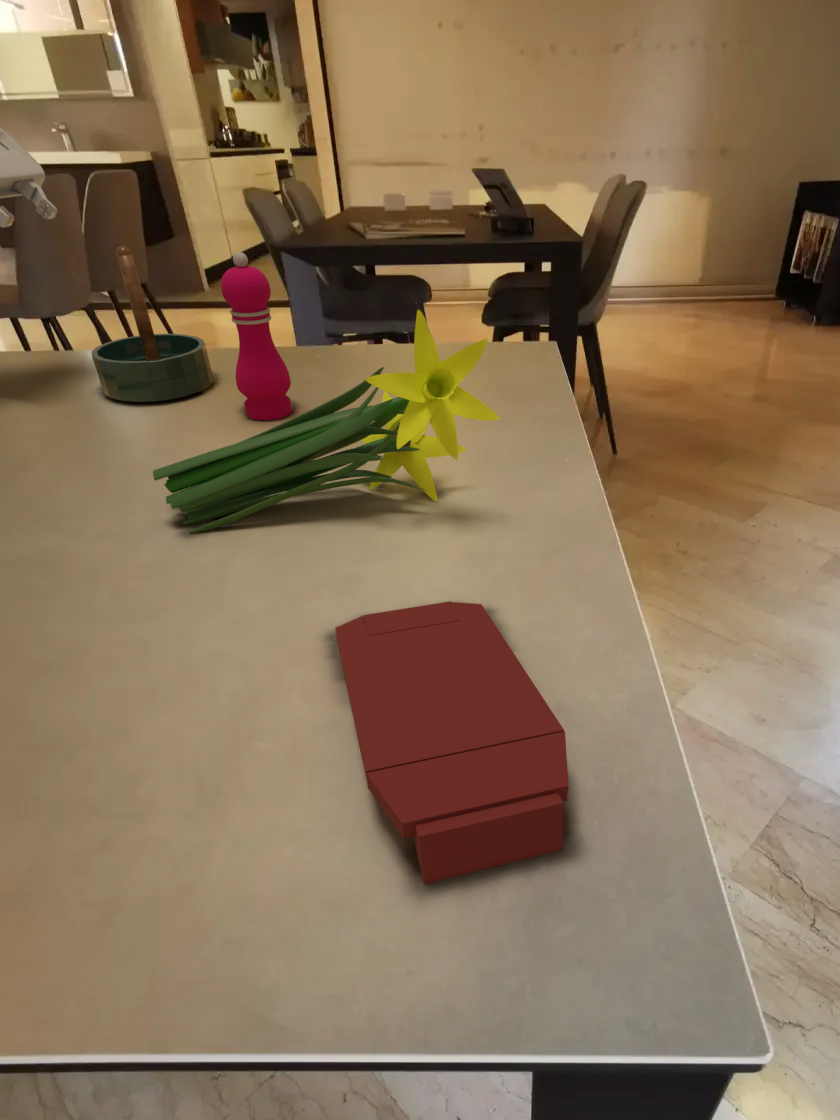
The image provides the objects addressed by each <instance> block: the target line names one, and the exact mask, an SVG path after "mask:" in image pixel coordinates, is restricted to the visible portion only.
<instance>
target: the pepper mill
mask: <svg viewBox="0 0 840 1120" xmlns="http://www.w3.org/2000/svg"><path fill="white" fill-rule="evenodd" d="M232 261H233V264H234V266H233V267H230V268H228V269H227V270H226V271H225V272H224V273H223V275H222V276H221V281H220V290H221V294H222V297H223V299H224V300H225V302H226V303H227V304H228V305H229V306H230V307H231V309H230V310H229V313H230V315H231V322H232V323H234V324H235V326H236V330H237V334H238V345H239V347H238V348H239V349H238V357H237V362H236V367H235V384H236V387H237V390H238V391H239V392H240V394H242V395H243V396H244V397H245V398H246V399H245V400H244V402H243V404H244V408H245V409H244V410H245V414H246V416H247V417H248V418H249V419H253V420H256V421H273V420H279V419H282V418H286V417H287V416H289V415H291V413H293V412H292V411H293V408H292V402H291V397H289V396H288V395H287V393H288V391H289V390H290V388H291V384H292V381H291V377H290V373H289V370H288V367H287V365H286V363H285V361H284V359H283V358H282V356H281V355H280V353H279V351H278V349H277V348H276V345H275V342H274V340H273V336H272V334H271V329H270V321H271V320H272V316H271V313H270V312H271V308H270V307H268V306H267V304H268V302H269V301H270V299H271V296H272V295H271V294H272V292H271V290H272V289H271V286H270V285H271V284H270V281H269V280H268V278H267V276H266V275H265V273H264V272H263V271H261V270H260V269H258V268H257V267H254V266H250V265H248V264H249V259H248V257H247V254H245V253H244V252H242V251H237V252H234V254H233V255H232Z"/></svg>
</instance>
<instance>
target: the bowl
mask: <svg viewBox="0 0 840 1120" xmlns="http://www.w3.org/2000/svg"><path fill="white" fill-rule="evenodd" d="M154 336H155V340H156V343H157V347H158V351H159V354H160V358H161V359H157V360H148V361H147V360H146V357H145V353H144V350H143V346H142V343H141V339H140V336H139V335H134V336H128V337H123V338H119V339H114V340H111V341H108V342H105V343H103V344H100V345H98V346H96V347H95V348H94V349H92V350H91V358H92V362H93V364H94V367H95V370H96V373H97V376H98V379H99V383H100V385H101V388H102V391H103V394H104V395H105V396H107V397H109V398H111V399H114V400H118V401H121V402H122V401H123V402H131V403H160V402H168V401H173V400H174V401H175V400H179V399H182V398H187V397H189V396H192V395H194V394H196V393H198V392H202V391H204V390H205V389H208V387H210V386H211V385H212V384H213V382H214V376H213V372H212V368H211V363H210V358H209V353H208V350H207V347H206V343H205V341H204V339H202V338H200V337H198V336H194V335H189V334H184V333H183V334H182V333H154Z"/></svg>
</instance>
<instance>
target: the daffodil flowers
mask: <svg viewBox="0 0 840 1120" xmlns="http://www.w3.org/2000/svg"><path fill="white" fill-rule="evenodd" d="M488 342H489V338H483V339H481V340H478V341H476V342H474V343H472V344H469V345H467V346H466V347H464V348H462V349H460V350H458V351H456V352H455V353H453V354H452V355H449V356H448V357H447V358H445V359H443V360H441V359H440V355H439V353H438V348H437V345H436V342H435V339H434V336H433V334H432V332H431V330H430V328H429V325H428V322H427V319H426V317H425V316H424V314H423V312H422V311H421V310H420V309H417V310H416V316H415V326H414V344H413V348H414V349H413V351H414V352H413V356H414V357H413V358H414V360H413V361H414V372H387V373H382V372H383V371H384V369H385V367H384V366H382V367H380V368H379V369H377V370H376V371H375V372H374V373H372V374H371V375H369V376H368V377H367V378H365V379H364V380H363V381H362V382H360V383H359V384H356V385H355V386H354V387H351V388H350V389H349V390H347V391H346V392H344V393H342V394H340V395H338V396H336V397H334V398H332V399H329V400H328V401H325V402H324V403H322V404H320V405H318V406H316V407H313V408H311V409H310V410H308V411H305V412H304V413H302V414H299V415H297V416H294V417H293V418H291V419H288V420H286V421H284V422H281V423H279V424H278V425H276V426H275V425H274V427H273V426H272V427H271V428H269V429H266V430H264V431H262V432H261V433H258V434H255V435H253V436H251V437H247V438H246V439H244V440H241V441H239V442H237V443H233V444H229V445H226V446H224V447H220V448H217V449H213V450H211V451H210V450H209V451H207V452H203V453H202V454H201V453H200V454H198V455H195V456H193V457H189V458H187V459H184V460H180V461H177V462H175V463H171V464H168V465H165V466H162V467H160V468H156V469H153V470H152V477H153V480H154V481H159V480H162V479H164V478H167V480H165V483H164V484H163V485H164V487H165V488H166V489H167V491H169V493H171V494H169V495H167V496H165V503H166V505H169V504H170V507H171V509H172V510H174V509H177V508H178V509H179V511H180V512H181V513H184V512H186V514H187V520H184V521H182V525H184V526H189V525H193V524H197V523H203V522H208V521H210V520H213V519H216V518H219V519H217V520H214V521H212V522H209V523H206V524H204V525H201V526H199V527H196V528H194V529H191V530H188V534H190V535H192V534H197V533H203V532H206V531H211V530H214V529H217V528H220V527H222V526H225V525H227V524H230V523H233V522H236V521H237V520H240V519H242V518H245V517H247V516H249V515H252V514H255V513H257V512H259V511H261V510H264V509H266V508H269V507H271V506H273V505H275V504H279V503H280V502H283V501H285V500H287V499H290V498H292V497H297V496H298V497H299V496H302V495H306V494H307V495H308V494H313V493H316V492H322V491H325V490H330V489H336V488H341V487H349V486H356V485H363V484H368V483H370V485H369V488H368V490H370V491H373V490H375V489H377V487H379V486H380V485H382V484H383V483H391V484H396V485H400V486H401V485H403V486H406V487H410V488H413V489H417V490H421V491H423V492H424V493H425V494H426V495H427V496H428V497H429V498H431V500H432V501H434V502H435V503H436V502H437V500H438V494H437V490H436V486H435V481H434V477H433V474H432V472H431V469H430V467H429V464H428V462H427V459H430V458H431V459H432V458H438V457H439V458H440V457H447V456H450V457H451V458H452V459H453V460H455V461H458V459H459V458H458V457H459V454H462V453H465V452H466V451H467V449H466V448H465V447H463V446H462V445H460V444H459V443H458V435H457V426H456V420H455V416H459V417H462V418H465V419H468V420H475V421H488V422H490V421H498V420H500V419H501V417H500V416H499V415H498V414H497V413H496V412H495V411H494V410H492V409H491V408H490V407H489V406H487V404H485V403H484V402H483V401H481V400H480V399H479V398H477V397H476V396H474V395H473V394H471V393H469V392H468V391H467V390H465V389H464V388H462V387H460V386H459V384H460V383H461V382H462V381H463V380H464V379H465V378H466V377H467V376H468V374H470V372H471V371H472V370H473V369H474V368H475V366H476V364H477V363H478V362H479V360H480V358H481V357H482V355H483V353H484V352H485V350H486V347H487V345H488ZM372 386H374V387H375V388H374V389H373V390H372V392H371V393H370V394H369V395H368V397H367V398H366V399H364V401H363V402H362V403H361V404H360V405H359V406H358V407H351V408H348V409H347V408H346V407H348V406H349V405H352V404H353V403H355V402H356V401H357V400H358V399H360V398H361V397H362V396H363V395H365V393H366V392H367V391H368V390H369V389H370V388H371V387H372ZM379 389H380V390H381V391H384V392H383V395H382V401H381V402H380V403H378V404H377V403H376V404H374V405H369V404H370V403H371V402H372V401H373V398H374V397H375V395H376V394H377V392H378V390H379ZM390 394H391V395H393V396H396V397H394V398H392V396H391V395H390ZM344 408H346V409H344ZM342 409H344V410H342ZM429 424H430V426H431V429H432V430H433V433H434V435H435V436H433V435H428V434H427V435H426V434H425V433H426V430H427V427H428V425H429ZM383 427H385V428H383ZM360 441H361V442H363V444H362V445H359V446H356V447H353V448H349V449H345V450H342V451H339V450H341V449H344V448H346V447H349V446H351V445H353V444H355V443H356V444H357V443H358V442H360ZM336 451H338V452H336ZM334 452H336V453H334ZM331 453H332V454H331ZM328 454H329V455H328ZM380 454H381V455H380ZM382 454H383V455H382ZM377 461H379V463H378V464H377V467H376V469H375V471H373V470H366V469H359V468H361V467H363V466H364V465H366V464H367V463H368V462H377ZM341 467H342V468H341ZM401 467H403V468H404V470H405V471H406V472H407V474H408V475H409V476H410V477H411V479H412V480H413V481H414V483H416V485H417V486H416V485H414V484H412V483H409V482H406V481H403V480H400V479H397V478H393V475H394V474H396V473H397V472H398V470H400V469H401ZM339 468H340V469H339ZM337 469H338V470H337ZM333 470H335V471H333ZM330 471H333V472H330ZM327 472H330V473H327ZM325 473H326V474H325ZM352 478H353V479H352ZM340 480H341V481H340ZM228 514H230V515H228ZM223 516H224V517H223ZM220 517H221V518H220Z"/></svg>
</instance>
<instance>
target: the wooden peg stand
mask: <svg viewBox="0 0 840 1120" xmlns="http://www.w3.org/2000/svg"><path fill="white" fill-rule="evenodd" d="M115 255H116V258H117V262H118V266H119V268H120V273H121V275H122V279H123V284H124V286H125V290H126V293H127V298H128V300H129V304H130V308H131V311H132V315H133V318H134V322H135V325H136V330H137V332H138V336H140V339H141V343H142V346H143V350H144V353H145V357H146V360H147V361H148V360H157V359H161V358H160V354H159V351H158V347H157V343H156V340H155V336H154V334H155V333H154V329H153V326H152V322H151V318H150V315H149V310H148V307H147V304H146V299H145V296H144V293H143V289H142V285H141V282H140V278H139V274H138V270H137V267H136V263H135V259H134V255H133V252H132V251H131V249H130V248H129V247H128V246H124V245H120V246H118V247H117V248H116V251H115Z"/></svg>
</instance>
